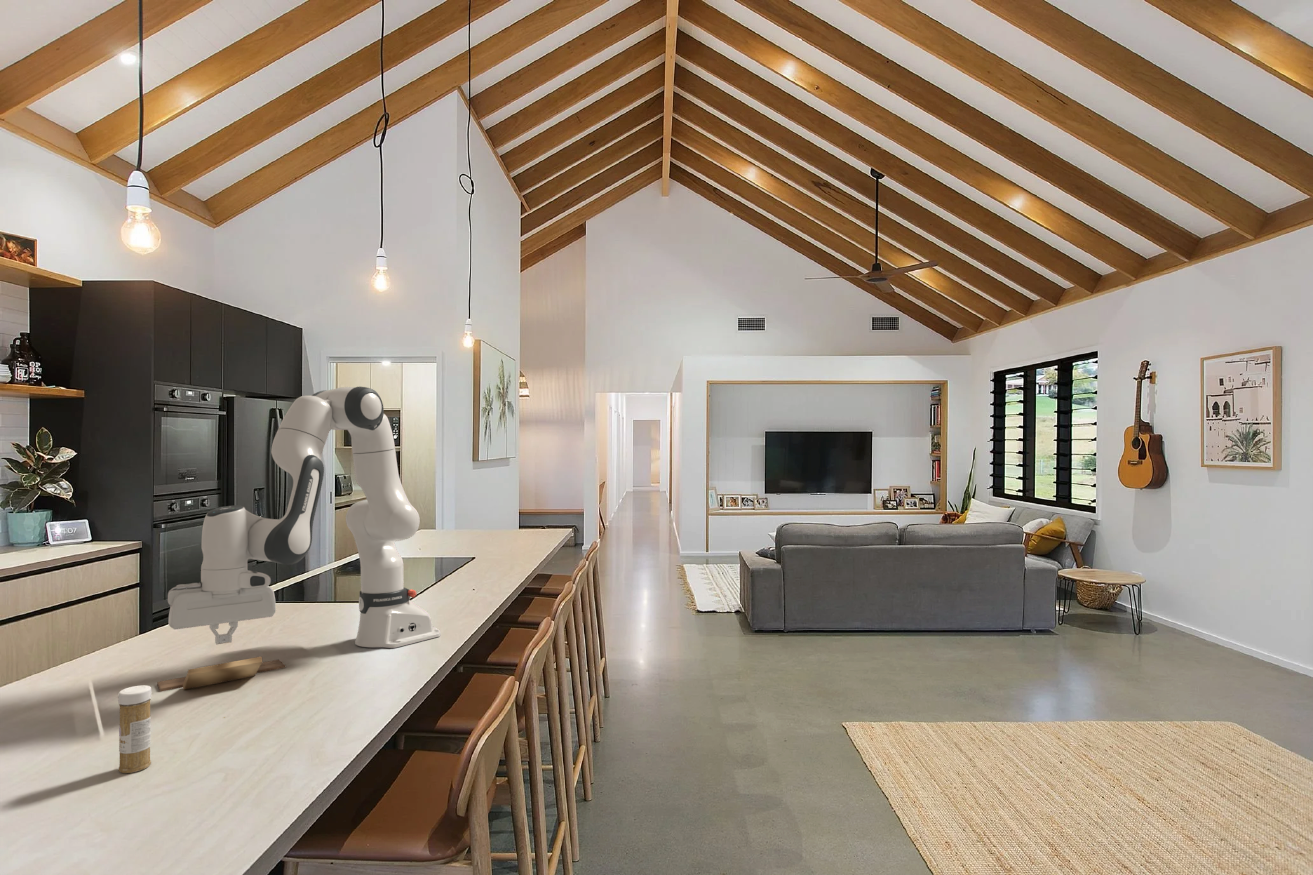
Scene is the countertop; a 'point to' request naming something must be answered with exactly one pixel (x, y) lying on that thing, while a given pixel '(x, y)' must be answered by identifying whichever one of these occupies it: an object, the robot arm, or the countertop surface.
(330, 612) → the countertop surface
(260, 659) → the oak plank
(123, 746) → the spice jar
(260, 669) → the walnut floorboard
